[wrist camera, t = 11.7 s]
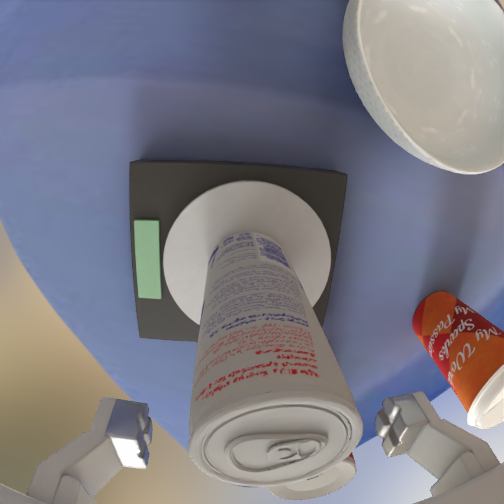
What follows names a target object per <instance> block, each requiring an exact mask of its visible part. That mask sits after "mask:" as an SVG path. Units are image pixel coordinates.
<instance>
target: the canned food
mask: <svg viewBox="0 0 504 504" xmlns="http://www.w3.org/2000/svg"><path fill="white" fill-rule="evenodd" d="M355 474H356V465H355V460H354V458H353V455H352V452H351V454H350V455H349V456H348V457H346V458H345V459H344V460H342V461H341V462H340V463H339V464H337V465H336V466H335V467H333V468H331V469H329V470H327V471H325V472H323V473H321V474H319V475H317V476H314V477H312V478H309V479H306V480H303V481H299V482H295V483H291V484H286V485H281V486H268V488H269V491H270V492H271V494H273V495H274V496H277V497H279V498H283V499H290V500H305V499H312V498H317V497H321V496H324V495H327V494H330V493H332V492H334V491H336V490H338V489H340V488H342V487H343V486H345V485H346V484H347V483H349V482H350V481H351V480H352V478H353V477H354V476H355Z"/></svg>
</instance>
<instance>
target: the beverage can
mask: <svg viewBox="0 0 504 504" xmlns="http://www.w3.org/2000/svg"><path fill="white" fill-rule="evenodd" d="M189 431H190V439H189V453H190V456H191V459H192V460H193V462H194V463H195V464H196V465H197V466H198V467H199V468H200V469H201V470H202V471H203V472H205V473H207V474H208V475H210V476H212V477H214V478H216V479H218V480H221V481H224V482H228V483H231V484H235V485H242V486H252V487H268V486H281V485H286V484H291V483H295V482H299V481H303V480H306V479H309V478H312V477H314V476H317V475H319V474H321V473H323V472H325V471H327V470H329V469H331V468H333V467H335V466H336V465H337V464H339V463H340V462H341V461H342V460H344V459H345V458H346V457H348V456H349V455H350V454H351V452H352V451H353V450H354V449H355V448H356V446H357V445H358V443H359V441H360V439H361V437H362V433H363V423H362V418H361V416H360V414H359V412H358V411H357V409H356V405H355V401H354V398H353V396H352V393H351V391H350V389H349V386H348V384H347V382H346V380H345V377H344V375H343V373H342V371H341V369H340V366H339V364H338V362H337V360H336V358H335V355H334V353H333V351H332V349H331V347H330V345H329V342H328V340H327V338H326V336H325V334H324V332H323V330H322V327H321V325H320V323H319V321H318V319H317V317H316V315H315V312H314V310H313V308H312V306H311V304H310V302H309V300H308V298H307V296H306V293H305V291H304V289H303V287H302V285H301V283H300V281H299V279H298V277H297V275H296V273H295V271H294V269H293V266H292V264H291V262H290V260H289V258H288V256H287V254H286V252H285V250H284V249H283V247H282V246H281V245H280V244H279V243H278V242H277V241H276V240H275V239H273V238H272V237H270V236H268V235H266V234H263V233H259V232H253V231H246V232H240V233H236V234H233V235H231V236H229V237H227V238H225V239H224V240H223V241H221V242H220V243H219V244H218V245H217V246H216V248H215V249H214V250H213V252H212V254H211V256H210V258H209V262H208V269H207V276H206V283H205V291H204V298H203V305H202V313H201V320H200V328H199V336H198V344H197V352H196V361H195V370H194V379H193V388H192V397H191V407H190V417H189Z"/></svg>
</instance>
